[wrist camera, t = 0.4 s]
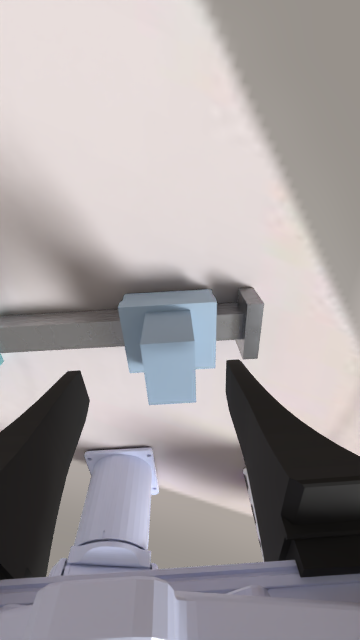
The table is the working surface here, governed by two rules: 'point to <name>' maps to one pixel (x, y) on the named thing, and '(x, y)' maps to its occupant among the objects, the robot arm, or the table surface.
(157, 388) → the carriage
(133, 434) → the table surface
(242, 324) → the rail
